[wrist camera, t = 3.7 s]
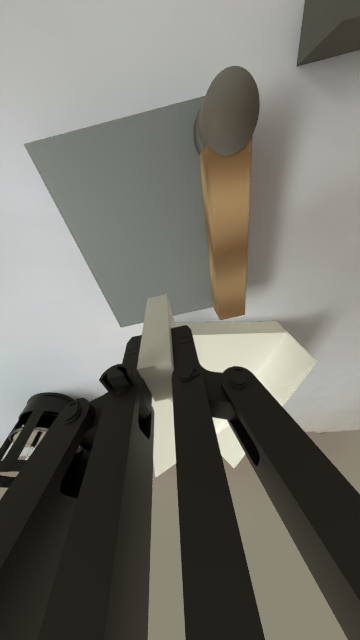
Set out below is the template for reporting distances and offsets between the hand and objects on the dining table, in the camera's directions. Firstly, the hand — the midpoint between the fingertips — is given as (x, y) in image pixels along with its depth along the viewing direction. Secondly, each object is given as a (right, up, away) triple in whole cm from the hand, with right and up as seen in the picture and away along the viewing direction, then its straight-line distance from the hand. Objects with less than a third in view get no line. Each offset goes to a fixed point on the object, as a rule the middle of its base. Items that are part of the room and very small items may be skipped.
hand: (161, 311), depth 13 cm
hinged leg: (+6, +8, +4) cm, 11 cm away
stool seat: (-1, +9, +6) cm, 11 cm away
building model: (+6, -19, +28) cm, 34 cm away
